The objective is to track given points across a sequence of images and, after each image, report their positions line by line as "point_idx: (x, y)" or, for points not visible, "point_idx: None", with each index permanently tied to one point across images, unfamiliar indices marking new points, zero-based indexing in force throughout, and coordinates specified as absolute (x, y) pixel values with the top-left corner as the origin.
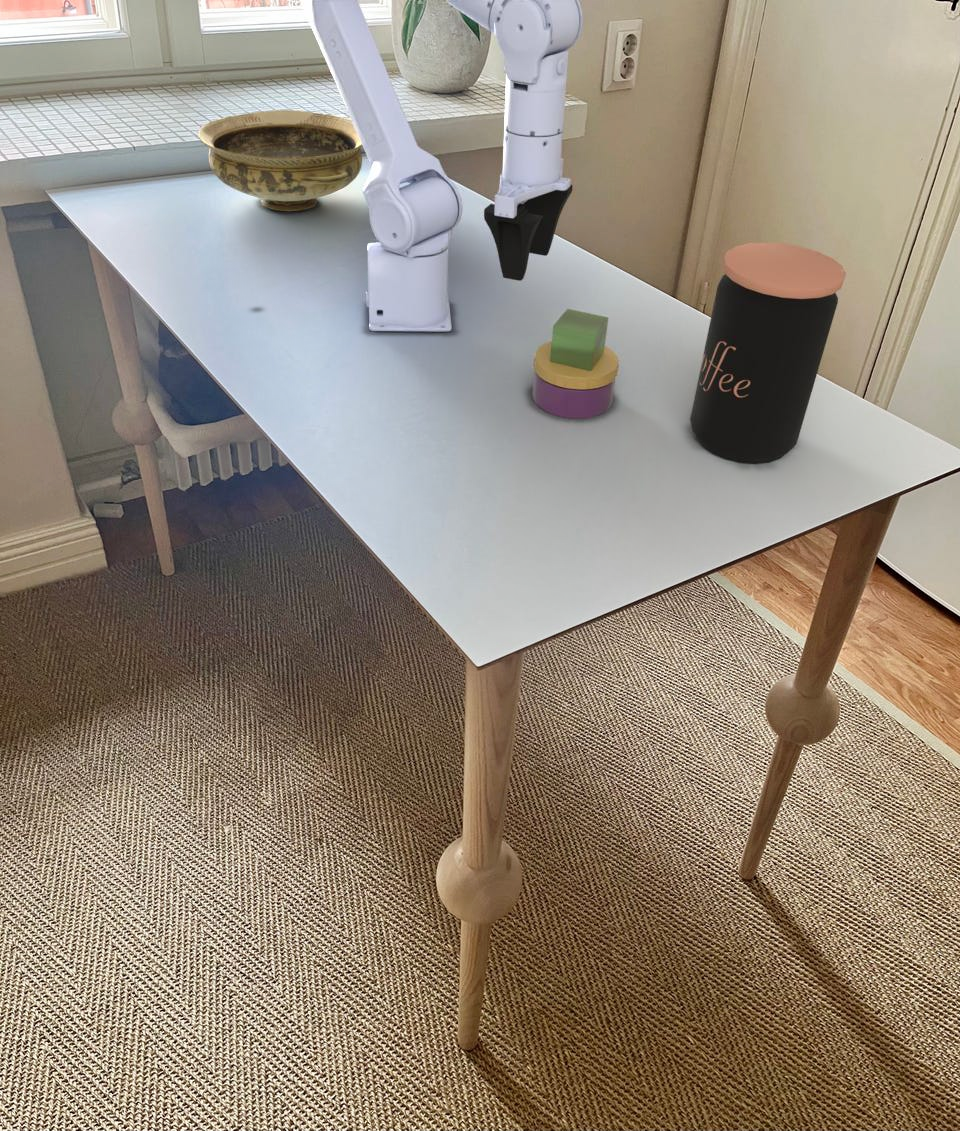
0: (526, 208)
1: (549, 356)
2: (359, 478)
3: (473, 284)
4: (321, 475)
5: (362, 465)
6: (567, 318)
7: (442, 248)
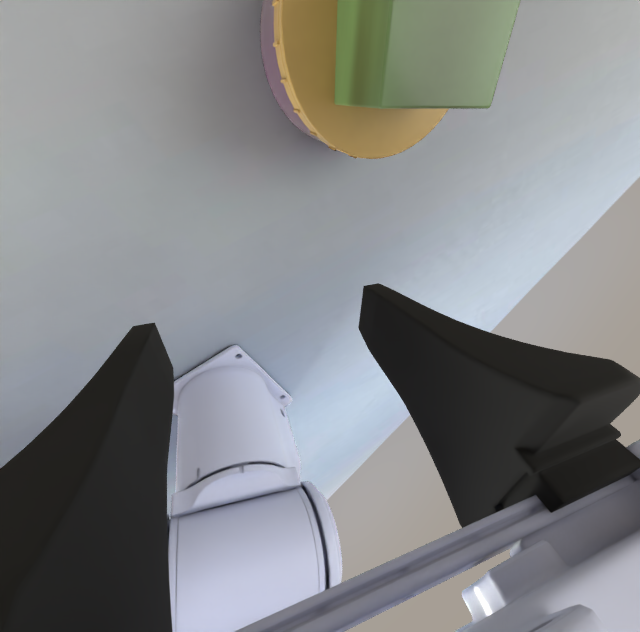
0: (162, 523)
1: (400, 116)
2: (554, 238)
3: (42, 415)
4: (546, 267)
5: (534, 248)
6: (447, 78)
7: (239, 471)
